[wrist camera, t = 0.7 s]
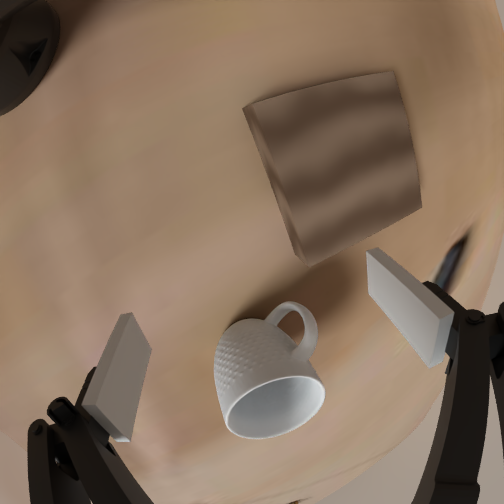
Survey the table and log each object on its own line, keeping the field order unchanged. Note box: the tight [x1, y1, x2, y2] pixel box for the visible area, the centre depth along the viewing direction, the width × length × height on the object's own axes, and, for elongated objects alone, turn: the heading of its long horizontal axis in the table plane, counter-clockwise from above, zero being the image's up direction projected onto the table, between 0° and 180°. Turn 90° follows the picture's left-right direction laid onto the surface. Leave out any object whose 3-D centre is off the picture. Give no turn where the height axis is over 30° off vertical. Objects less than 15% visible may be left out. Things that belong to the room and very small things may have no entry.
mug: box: [214, 301, 325, 439], centre depth 31 cm, size 15×11×13 cm
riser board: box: [242, 71, 422, 267], centre depth 30 cm, size 18×18×4 cm
